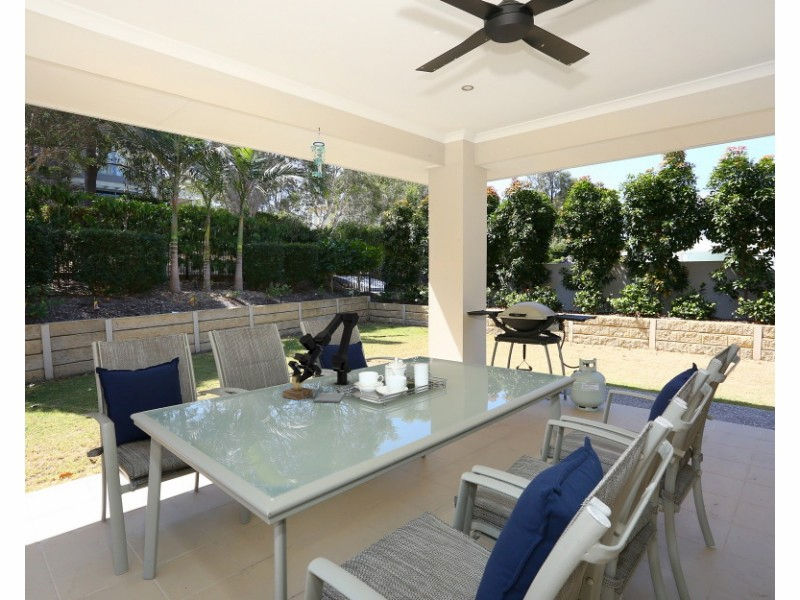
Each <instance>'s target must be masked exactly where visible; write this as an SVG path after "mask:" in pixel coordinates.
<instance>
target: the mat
mask: <svg viewBox="0 0 800 600" xmlns="http://www.w3.org/2000/svg"><path fill="white" fill-rule="evenodd" d="M344 397H345V393H328V392H324V393H318V395H316V397H315V398H314V399H313V403H320V404H321V403H322V404H324V403H326V404H327V403H328V404H331V403H332V404H340V403H341V401H342V400H343V398H344Z"/></svg>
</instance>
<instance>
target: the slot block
mask: <svg viewBox="0 0 800 600" xmlns="http://www.w3.org/2000/svg"><path fill="white" fill-rule="evenodd" d="M313 396H314V390H313V389H312V388H307V387H303V386H302V390H301V391H294V387H291V388H288V389H285V390H282V397H283V398H287V399H290V400H295V401H300V400H303V399H305V398H309V397H313Z"/></svg>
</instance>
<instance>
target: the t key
mask: <svg viewBox="0 0 800 600" xmlns="http://www.w3.org/2000/svg"><path fill="white" fill-rule="evenodd" d="M301 376H302V374H301V375H296V376H293V375H292V376H291V383H292V384H291V385H292V386H294V387H293V388H294V391H301V390H302V387H303V384H304V383H305V381H303V382H302V383H300V384H299V383H298V382H299V380H300V378H301Z"/></svg>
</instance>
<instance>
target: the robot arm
mask: <svg viewBox="0 0 800 600" xmlns="http://www.w3.org/2000/svg"><path fill="white" fill-rule="evenodd" d="M359 319H360V316H359V314H358V312H354V311H345V312H337V313H335V315H334V317H333V318H332V319H331V321H330V322H329V323H328V324H327V326H325V328H324V329H323V330H322V331H319V332H318V333H317V334H316V335H314V337H313V336H312V334H311V333H309V332H307V333H306V334H305V335H302V336H300V338H299V340H298V343H299V344H300V345H301V346H302V347H303V349H304V350H305V351H307V352H304V353H299V352H295V354H294V357H293V360H289V361H288V363H287V366H288V367H289V368H290V369H292V371H293V372H292V376H296V375H302V376H301V378H300V380H299V382H298V383H299V384H300V383H302V382H303V381H304V382H305V381H307V380H308V379H310V378H311V377H315V376H321V374H322V371H323V370H322V368H321V367H320V366H319V365H318V364H317V363H318V361H317V359H318V358H319V357H320V356H321V355H325V351H324V348H326V347H328V346H329V345H330V342H331V341H332V336H333V334H334V333H335V332H337V329H338V328H339V327H340V326H341V324H342V325H343V330H342V333H341V338H340V342H339V346H338V350H337V353H336V354H333V355H332V359H331V361H330V362H331V367H332V371H333V372H336V381H335V382H334V384H335V385H347V384H349V383H350V380H348V374H349V373H351V372H352V367H351V365H349V357H348V352H349V351H348V350H349V347H350V343H351V338H352V334H353V329H354V328H355V327H356V326H357V325H358V323H359V322H358V321H359ZM323 347H324V348H323ZM301 370H303V372H302V371H301Z"/></svg>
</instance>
